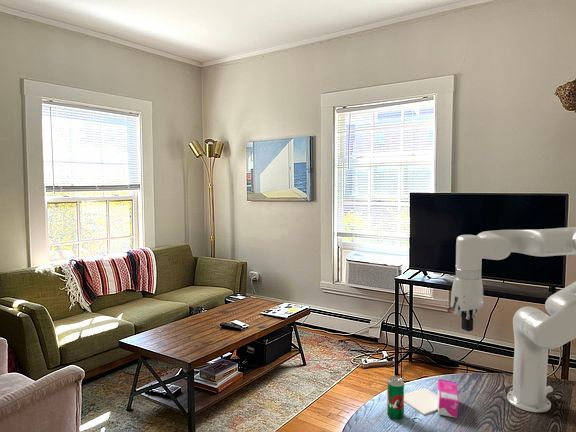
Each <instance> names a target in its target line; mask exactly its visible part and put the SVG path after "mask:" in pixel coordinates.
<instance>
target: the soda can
mask: <svg viewBox="0 0 576 432" xmlns="http://www.w3.org/2000/svg"><path fill="white" fill-rule="evenodd" d="M386 392H387V400H386V401H387V402H386V403H387V404H386V405H387V406H386V407H387V408H386V410H387V411H386V412H387V413H386V415H387V417H389V418H390V419H392V420H394V421H399V420H402V419H403V418H404V417H405V402H404V394H405V382H404V379H403V378H401V377H399V376H396V375H395V376H390V377H389V378H388V380H387V391H386Z"/></svg>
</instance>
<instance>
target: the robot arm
mask: <svg viewBox="0 0 576 432" xmlns="http://www.w3.org/2000/svg"><path fill="white" fill-rule="evenodd" d="M511 253H518V254H523V255H526V256H527V255H528V256H534V257H554V256H569V255H571V256H572V255H576V226H572V227H568V226H567V227H556V228H544V229H543V228H542V229H541V228H540V229H532V228H531V229H499V230H498V229H497V230H487V231H485V230H484V231H481V232H479V233H478V234H477V235H474V234H461V235H459V236H457V237H456V243H455V278H453V282H452V287H451V294H450V308H451V309H454V311H453V314H455V315H457V316H459V317H460V318H461V329H462V330H464V331H466V332H472V331H473V330H474V319H475V317H476V313H477V312H478V311H480V310H481V309H482V308H481V307H482V306H483V304H484V287H483V286H484V285H483V279H482V267H483V266H482V264H483V262H482V260H483V259H484V260H485V259H486V260H493V261H494V260H495V261H500V260H504V259H507V258H508V257H509V256H510V255H511ZM544 303H545V304H544V307H545V310H546V312H547V313H548V314H547V313H546V312H544V311H542V310H540V309H539V308H536V307H534V306H523V307H519V309H518V310H516V312H515V313H514V314H513V315H514V316H513V318H512V328H513V336H514V351H513V352H514V353H513V375H512V376H513V377H512V390H510V391H509V392H507V395H506V399H507V401H508V402H509V403H510V404H511V405H512V406H513V407H516V408H517V409H520V410H523V411H527V412H531V413H545V412H548V411H550V410H551V407H552V402H551V401H550V400H549V398H547V396H548V394H550V393H552V392H553V391H554V389H553V386H551V385H548V386H547V382H548V381H547V377H548V363H549V362H548V360H549V350H554V349H557V348H560V347H562V346H563V345H565V344H568V343H569V342H571V341H573V340H575V339H576V280H575V281H574V282H572V283H570V284H569V285H567V286H565V287H564V288H562V289H560V290H558V291H556V292H555V293H553V294H551V295H550V296H549V297H547V299H546V301H545V302H544Z"/></svg>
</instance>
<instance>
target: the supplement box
mask: <svg viewBox="0 0 576 432" xmlns="http://www.w3.org/2000/svg"><path fill="white" fill-rule="evenodd" d="M436 395H437V404H438V410H437V414H438V415H439V416H445V417H450V418H456V419H457V418H458V414H459V413H458V412H459V404H460V400H459V394H458V386H457V382H455V381H451V380H445V379H440V378H438V381H437V388H436Z"/></svg>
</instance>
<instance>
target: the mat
mask: <svg viewBox="0 0 576 432" xmlns="http://www.w3.org/2000/svg"><path fill="white" fill-rule="evenodd" d="M404 404H407V406H410V407H411V408H412V409H414V410H415V411H417V412H418V413H420V414H421V415H423V416H426V415H430V414H432V413H434V412H436V411H437V412H438V404H437V393H434V392H432V391H431V390H429V389H427V388H426V387H423V388H419V389H416V390H413V391H410V392H407V393H404Z"/></svg>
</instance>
